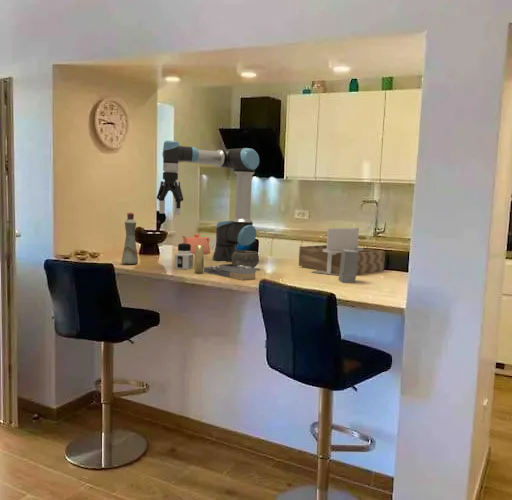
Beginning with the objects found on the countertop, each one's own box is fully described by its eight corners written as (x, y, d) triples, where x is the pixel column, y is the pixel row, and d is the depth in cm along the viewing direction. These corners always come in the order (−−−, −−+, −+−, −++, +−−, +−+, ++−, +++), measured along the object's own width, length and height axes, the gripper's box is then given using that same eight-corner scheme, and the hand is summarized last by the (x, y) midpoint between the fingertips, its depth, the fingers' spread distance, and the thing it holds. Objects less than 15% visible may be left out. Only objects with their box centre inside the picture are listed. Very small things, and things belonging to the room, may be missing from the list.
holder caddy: (332, 264, 341) (333, 244, 340) (383, 272, 314) (385, 251, 313) (298, 267, 321) (299, 246, 320) (350, 276, 294) (351, 253, 293)
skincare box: (338, 281, 278) (339, 248, 276) (352, 281, 279) (354, 249, 277) (342, 284, 270) (344, 250, 268) (357, 284, 270) (359, 251, 269)
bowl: (261, 269, 308) (262, 251, 307) (252, 273, 293) (253, 253, 292) (237, 267, 312) (238, 249, 311) (227, 271, 298) (227, 251, 297)
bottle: (117, 263, 309) (118, 211, 306) (127, 262, 318) (128, 211, 315) (131, 265, 306) (132, 212, 303) (141, 263, 314) (142, 212, 312)
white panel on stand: (332, 266, 326) (334, 225, 323) (367, 270, 315) (370, 228, 313) (311, 272, 302) (313, 227, 299) (348, 276, 291) (351, 230, 289)
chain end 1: (216, 270, 297) (216, 264, 296) (242, 276, 282) (243, 269, 281) (203, 272, 291) (204, 265, 291) (229, 277, 276) (229, 270, 276)
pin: (199, 272, 289) (200, 244, 288) (205, 273, 286) (205, 245, 284) (192, 273, 286) (193, 245, 285) (198, 274, 283) (198, 246, 281)
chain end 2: (231, 274, 288) (232, 262, 287) (255, 279, 275) (256, 266, 274) (218, 275, 282) (219, 263, 282) (242, 280, 269) (243, 267, 268)
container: (188, 269, 298) (189, 244, 296) (174, 268, 299) (174, 243, 298) (193, 267, 305) (193, 243, 304) (179, 266, 307) (179, 242, 305)
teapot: (191, 257, 348) (191, 235, 347) (171, 255, 358) (172, 233, 357) (218, 255, 368) (218, 234, 367) (198, 252, 378) (199, 232, 377)
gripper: (150, 171, 295) (149, 212, 297) (178, 171, 276) (177, 215, 279) (162, 172, 300) (162, 212, 302) (191, 172, 281) (190, 215, 284)
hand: (169, 214), depth 290 cm, fingers open, 13 cm apart
